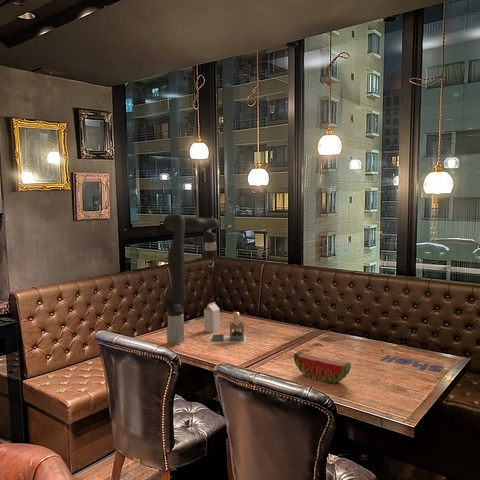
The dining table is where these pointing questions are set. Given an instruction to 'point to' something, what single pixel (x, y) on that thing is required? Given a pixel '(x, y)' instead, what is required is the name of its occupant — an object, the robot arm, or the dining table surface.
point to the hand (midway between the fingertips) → (211, 274)
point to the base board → (226, 340)
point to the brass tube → (236, 323)
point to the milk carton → (212, 318)
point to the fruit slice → (321, 367)
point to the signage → (415, 363)
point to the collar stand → (231, 334)
